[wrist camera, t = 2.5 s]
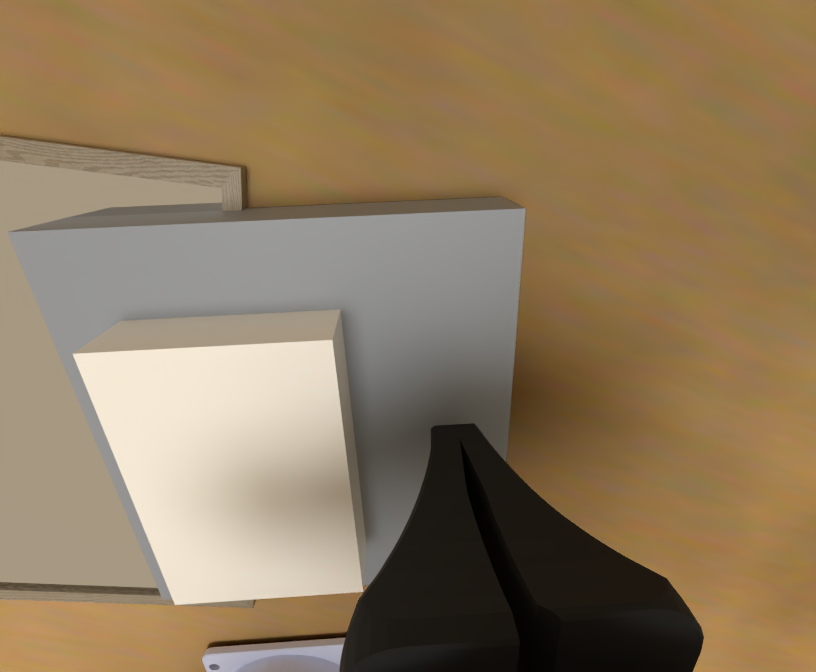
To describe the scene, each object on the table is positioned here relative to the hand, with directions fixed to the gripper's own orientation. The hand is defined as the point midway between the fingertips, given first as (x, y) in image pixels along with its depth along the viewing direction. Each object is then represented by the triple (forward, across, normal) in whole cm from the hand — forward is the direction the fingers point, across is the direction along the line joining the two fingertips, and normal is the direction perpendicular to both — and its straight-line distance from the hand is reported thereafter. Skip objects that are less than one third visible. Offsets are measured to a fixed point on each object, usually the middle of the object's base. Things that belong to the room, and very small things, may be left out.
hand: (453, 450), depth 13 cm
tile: (+1, +6, 0) cm, 6 cm away
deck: (+3, +5, 0) cm, 6 cm away
